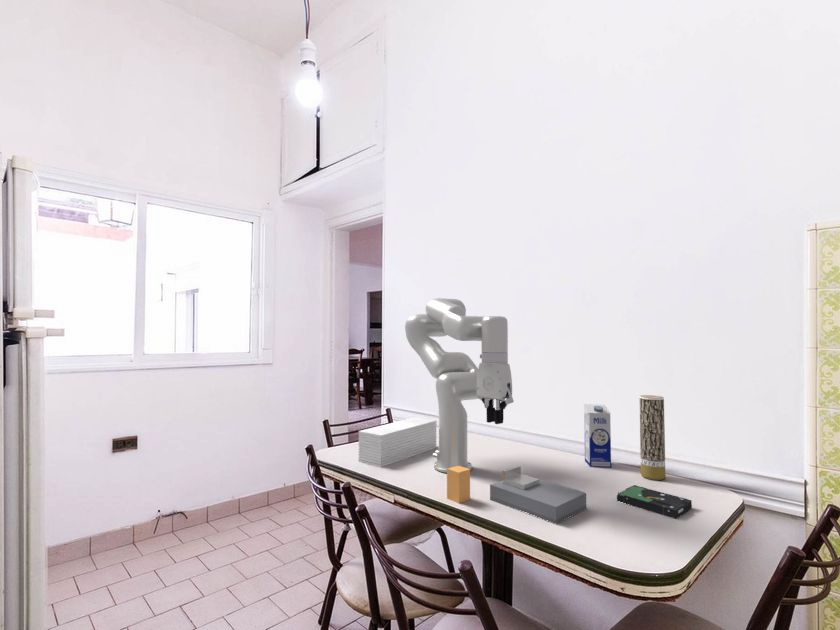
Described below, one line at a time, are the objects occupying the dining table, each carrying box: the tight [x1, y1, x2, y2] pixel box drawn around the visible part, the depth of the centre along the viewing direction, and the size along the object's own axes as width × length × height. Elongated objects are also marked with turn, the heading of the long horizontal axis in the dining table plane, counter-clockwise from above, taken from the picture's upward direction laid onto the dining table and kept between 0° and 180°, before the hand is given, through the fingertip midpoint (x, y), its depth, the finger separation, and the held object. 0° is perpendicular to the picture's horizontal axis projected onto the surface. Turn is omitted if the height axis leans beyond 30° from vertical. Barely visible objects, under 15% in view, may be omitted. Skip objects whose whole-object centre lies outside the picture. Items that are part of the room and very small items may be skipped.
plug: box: [446, 466, 471, 504], centre depth 119 cm, size 4×4×8 cm
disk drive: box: [616, 484, 693, 520], centre depth 115 cm, size 10×3×15 cm
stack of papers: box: [357, 416, 438, 468], centre depth 163 cm, size 32×11×11 cm, turn 142°
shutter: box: [502, 465, 541, 490], centre depth 119 cm, size 7×7×3 cm
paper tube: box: [639, 394, 666, 481], centre depth 137 cm, size 7×7×25 cm
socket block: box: [489, 473, 587, 524], centre depth 115 cm, size 20×14×4 cm
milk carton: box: [583, 403, 612, 468], centre depth 151 cm, size 7×7×20 cm
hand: (494, 422), depth 126 cm, fingers closed
